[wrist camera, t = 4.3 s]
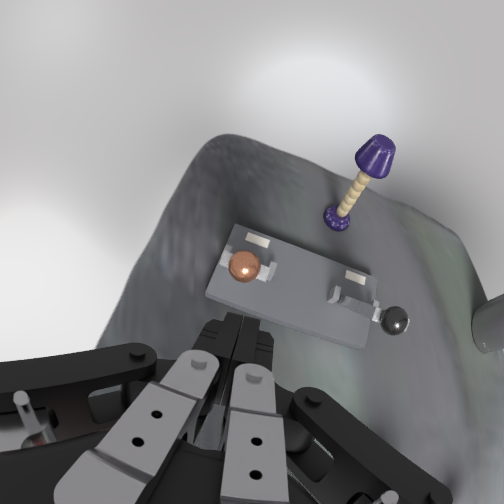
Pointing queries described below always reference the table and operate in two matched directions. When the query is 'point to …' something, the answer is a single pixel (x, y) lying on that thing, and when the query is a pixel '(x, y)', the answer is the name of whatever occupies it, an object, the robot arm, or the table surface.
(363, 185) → the toy lamp
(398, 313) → the black knob lever
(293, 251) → the switch panel
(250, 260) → the copper knob lever
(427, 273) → the table surface
